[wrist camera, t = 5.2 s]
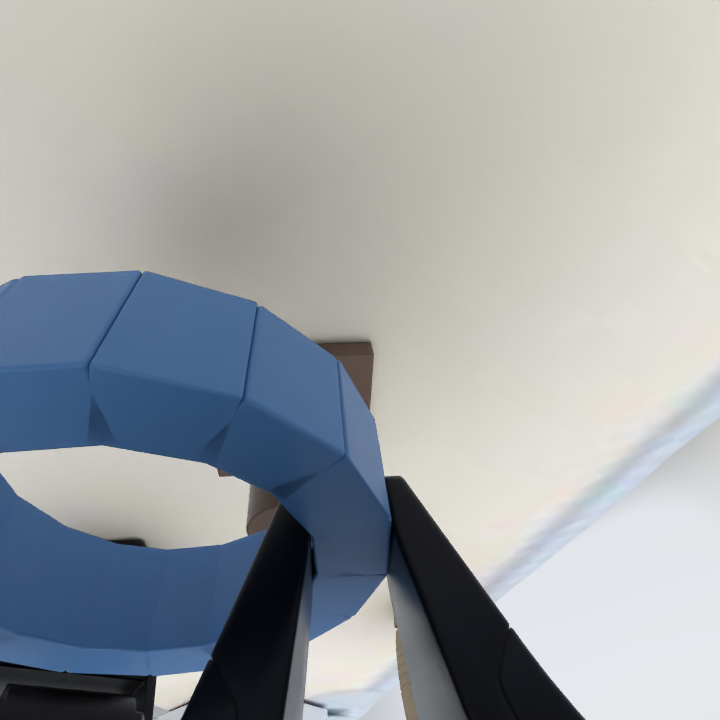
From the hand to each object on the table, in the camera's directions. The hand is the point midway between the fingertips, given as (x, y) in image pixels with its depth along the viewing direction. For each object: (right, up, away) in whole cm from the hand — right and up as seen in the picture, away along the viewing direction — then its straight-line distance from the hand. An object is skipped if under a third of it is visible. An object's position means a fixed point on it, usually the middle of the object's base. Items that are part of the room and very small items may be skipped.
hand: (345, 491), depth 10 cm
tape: (-4, 0, +1) cm, 4 cm away
